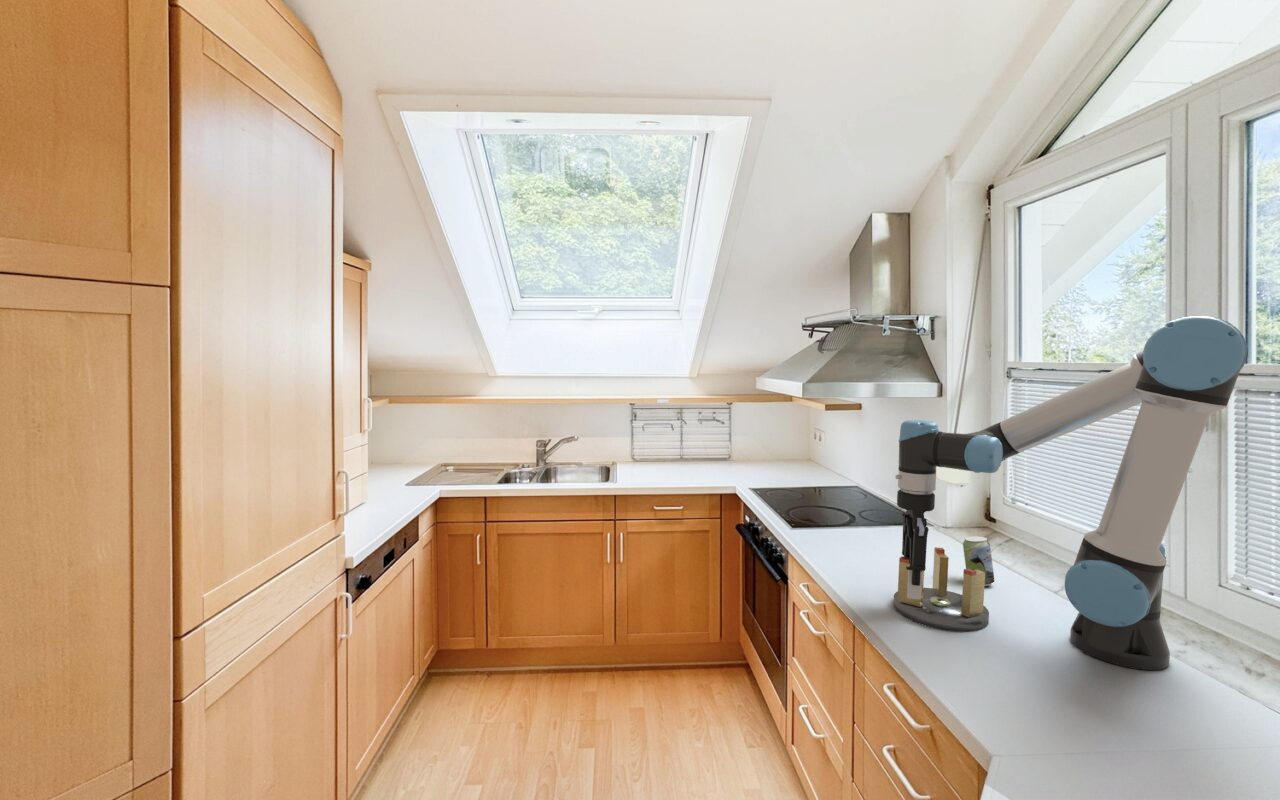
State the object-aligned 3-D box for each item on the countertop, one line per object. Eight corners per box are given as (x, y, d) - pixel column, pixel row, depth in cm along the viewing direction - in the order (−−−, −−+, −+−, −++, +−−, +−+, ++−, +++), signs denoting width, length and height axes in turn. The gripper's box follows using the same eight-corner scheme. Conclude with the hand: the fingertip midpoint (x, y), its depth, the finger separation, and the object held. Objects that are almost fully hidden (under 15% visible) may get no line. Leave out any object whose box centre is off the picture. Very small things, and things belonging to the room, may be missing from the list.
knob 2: (946, 596, 136) (948, 554, 135) (938, 595, 136) (940, 553, 136) (940, 588, 141) (942, 547, 140) (932, 587, 141) (934, 547, 141)
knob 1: (922, 604, 131) (924, 561, 130) (920, 606, 130) (922, 563, 129) (900, 598, 134) (902, 556, 134) (897, 600, 133) (899, 558, 132)
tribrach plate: (1007, 620, 129) (1007, 607, 129) (953, 639, 120) (954, 625, 119) (927, 590, 145) (928, 578, 145) (875, 604, 136) (876, 592, 136)
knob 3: (974, 610, 129) (977, 565, 128) (982, 613, 127) (985, 568, 126) (961, 614, 126) (963, 569, 126) (969, 617, 125) (971, 572, 124)
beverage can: (998, 589, 147) (1000, 542, 146) (965, 587, 148) (968, 540, 147) (988, 580, 153) (991, 535, 152) (957, 578, 154) (960, 533, 153)
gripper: (890, 482, 139) (887, 579, 141) (905, 497, 123) (901, 607, 124) (925, 484, 137) (921, 582, 139) (945, 500, 121) (940, 611, 123)
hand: (911, 594), depth 132 cm, fingers open, 4 cm apart
